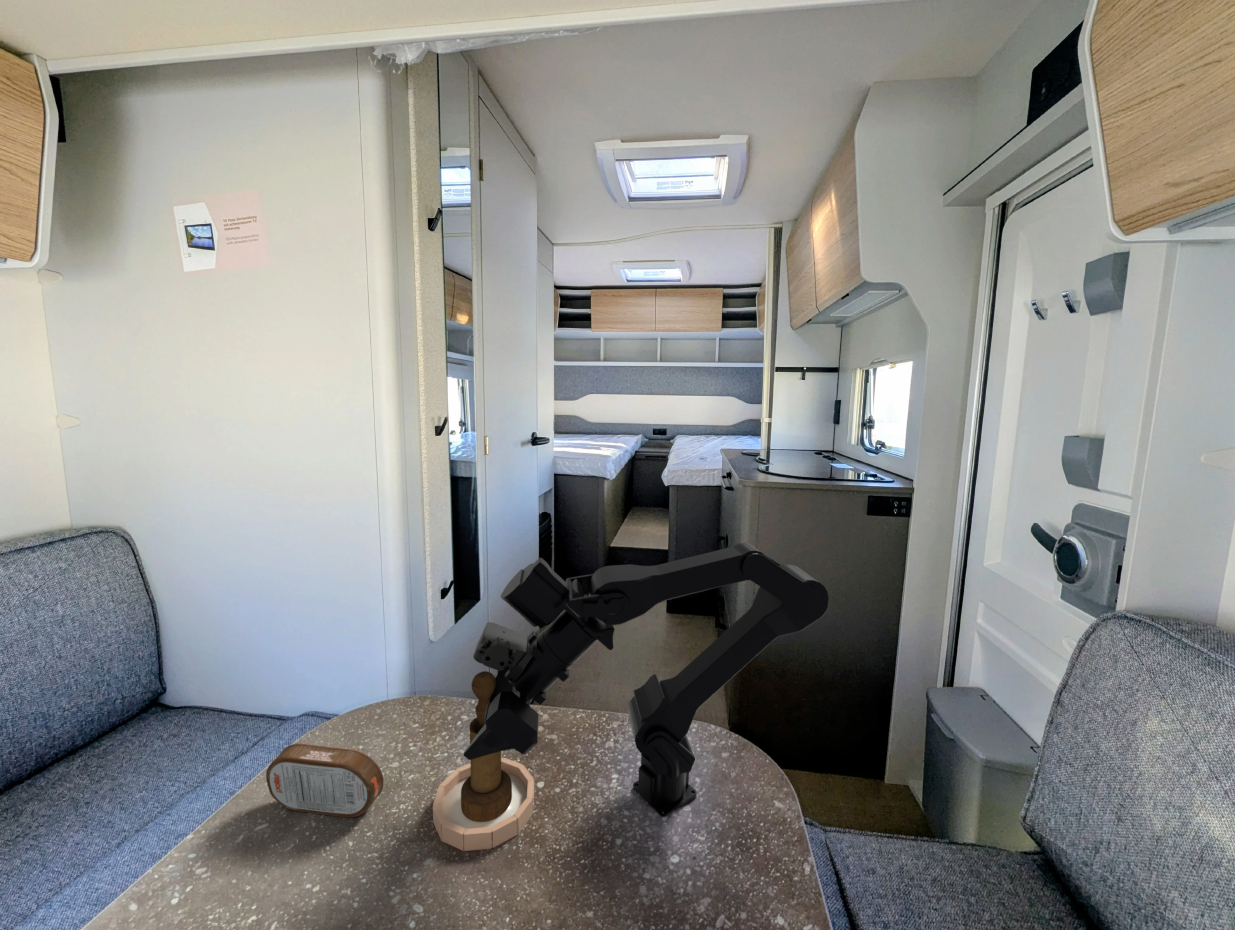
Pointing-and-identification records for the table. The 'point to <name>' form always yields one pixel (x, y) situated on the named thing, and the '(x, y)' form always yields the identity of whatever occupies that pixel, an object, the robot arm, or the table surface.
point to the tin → (324, 780)
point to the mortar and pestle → (485, 765)
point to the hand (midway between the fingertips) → (472, 731)
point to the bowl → (487, 833)
